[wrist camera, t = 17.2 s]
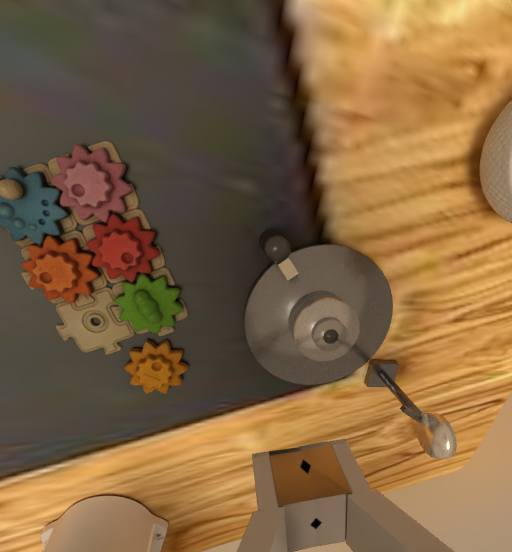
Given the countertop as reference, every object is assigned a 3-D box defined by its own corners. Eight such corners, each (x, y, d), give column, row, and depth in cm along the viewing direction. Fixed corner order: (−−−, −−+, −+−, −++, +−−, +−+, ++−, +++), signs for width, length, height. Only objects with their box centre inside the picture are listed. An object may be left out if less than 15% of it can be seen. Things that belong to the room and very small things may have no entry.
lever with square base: (388, 384, 43) (460, 468, 30) (356, 383, 42) (416, 469, 29) (395, 359, 42) (473, 435, 29) (363, 357, 41) (428, 435, 28)
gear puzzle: (217, 368, 39) (217, 387, 35) (109, 406, 39) (96, 429, 35) (116, 136, 30) (100, 127, 26) (-29, 184, 29) (-67, 183, 26)
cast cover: (359, 316, 37) (377, 333, 33) (315, 356, 38) (328, 378, 34) (320, 278, 35) (334, 290, 30) (275, 322, 36) (283, 340, 32)
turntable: (415, 307, 39) (446, 325, 34) (315, 401, 42) (329, 433, 36) (300, 190, 33) (315, 189, 27) (192, 311, 35) (186, 333, 30)
